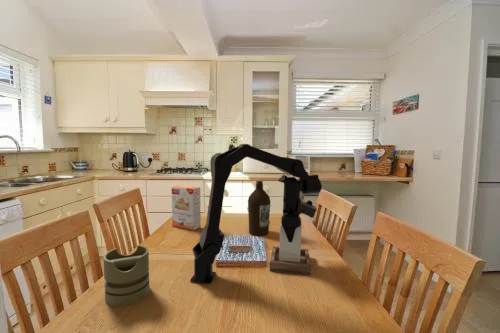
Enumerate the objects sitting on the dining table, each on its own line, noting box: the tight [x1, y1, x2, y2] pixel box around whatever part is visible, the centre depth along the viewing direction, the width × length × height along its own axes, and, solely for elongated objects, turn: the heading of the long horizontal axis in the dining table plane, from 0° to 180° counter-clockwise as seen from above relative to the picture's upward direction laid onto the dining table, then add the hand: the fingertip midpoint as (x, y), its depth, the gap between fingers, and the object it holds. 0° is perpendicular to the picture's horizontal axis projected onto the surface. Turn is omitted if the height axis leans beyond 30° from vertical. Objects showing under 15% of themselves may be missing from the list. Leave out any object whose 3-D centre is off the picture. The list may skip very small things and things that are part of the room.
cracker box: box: [171, 184, 202, 232], centre depth 129 cm, size 14×6×21 cm, turn 62°
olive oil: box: [247, 180, 271, 237], centre depth 122 cm, size 11×11×25 cm
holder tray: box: [269, 246, 312, 275], centre depth 92 cm, size 13×13×3 cm
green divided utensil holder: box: [102, 244, 150, 308], centre depth 72 cm, size 11×12×11 cm
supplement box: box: [278, 224, 303, 262], centre depth 91 cm, size 7×7×13 cm
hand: (290, 238), depth 91 cm, fingers closed on supplement box, 7 cm apart
